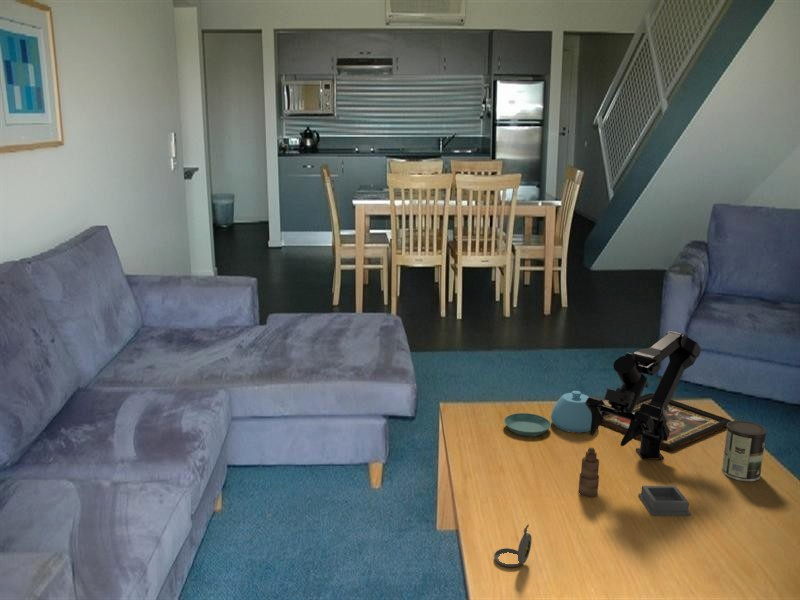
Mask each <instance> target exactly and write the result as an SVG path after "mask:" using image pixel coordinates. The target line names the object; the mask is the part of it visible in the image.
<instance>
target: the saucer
mask: <svg viewBox="0 0 800 600" xmlns="http://www.w3.org/2000/svg"><path fill="white" fill-rule="evenodd" d="M503 422H504V424H505V426H506V427H507V428H508V429H509V430H510V431H511V433H514V434H516V435H518V434H519V435H518V436H522V435H523V436H524V437H538V436H541V435H543V434H544V433H546V432H547V431H549V429H550V428H551V426H552V423H551V421H550V420H549V419H548V418H546V417H544V416H541V415H538V414H534V413H529V412H520V413H512V414H509V415H507V416H506V417H505V418H504V420H503ZM532 430H533V431H532ZM537 435H538V436H537Z"/></svg>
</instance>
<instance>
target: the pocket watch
mask: <svg viewBox="0 0 800 600" xmlns="http://www.w3.org/2000/svg"><path fill="white" fill-rule="evenodd" d="M529 526H530V524H527V525H526V526H525V528H524V529H523V535H522V536H521V539H520V541H519V545H518V548H517V549H514V548H506V547H505V548H499V549H498V550H496V551H495V552H494V556H493V557H494V561H496V563H497V564H499V565H500V566H503V567H507V568H514V567H519V566H520V565H522V564H525V563H526V562H527V560H528V559H529V555H530V551H531V549H532V535H531V533H528V528H529ZM507 552H509V553H513V554H517V555H518V561H519V563H518V564H505V563H502V562H500V561H499V559H498V557H499V556H500V554H502V553H503V554H504V553H507Z"/></svg>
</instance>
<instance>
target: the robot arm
mask: <svg viewBox="0 0 800 600" xmlns="http://www.w3.org/2000/svg"><path fill="white" fill-rule="evenodd" d="M701 351H702V350H701V346H700V345H699V343H698V342H697V341H695V340H694V339H692V338H690V337H688V336H687V335H686V334H685V333H684V332H678V331H674V330H669V331H667V332H666V333H665V336H663V337H662V338H660V339H659V340H658V341H657V342H655V343H654V344H653V345H652V346H650V347H649V348H640V349H638V350H636V351H634V352H633V353H630V352H626V354H625V355H623V356H620V357H617V358H616V359H615V360H614V361H613V370H614V371H615V373H616V374H617V376H618V378H619V380H620V381H621V383H622V384H621V386H620V387H617V388H616V390H615V389H612V388H608V387H607V388H606V391H605V396H604V397H603V398H604V399H601V398H597V397H594V396H592V395H591V396H588V397H589V398H587V400H586V402H585V404H586V406H587V407H588V409H589V410H590V412H591V414H592V421H591V430H590V432H589V434H590V436H591V437H593V436H594V435H595V434H596V432H597V430H598V429H599V428H600V426H601V422H602V420H603V419H604V418H603V416H602V415H605V413H609V414H612V415H615V416H618V417H621V418H624V419H628V420H631V421H630V426H629V428H628V430H627V432H626V433H625V434H623V435H624V436H623V437H622V439H621V441H620V447H624V446H625V445H627V444H628V443H630V442H631V441H632V440H633V439H636V438H635V437H637V436H638V435H641V441H640V445H639V446H640V447H636V448H635V451H636V453H637V454H638V455H639V457H640V458H641V459H642V460H664V459H665V456H663V454H662V453H661V449H660V447H661V442H662V441H667V439H668V437H669V433H670V430H669V428H668V426H667V425H666V422H667V417H666V408H667V406H668V404H669V402H670V400H672V397H673V395H674V393H675V392H676V389H677V387H678V384H679V383H680V380H681V378H682V376H683V374H684V372H685V370H686V369H688V368H689V367H692V366H693V365H694V363H695V362H696V361H697V358H699V357H700V354H701ZM667 357H668V360H669V361H668V365H667V366H666V368H665V370H664V372H663V375H662V377H661V379H660V381H659V382H658V385H657V388H656V389H655V392H654V393H653V394H654V395H653V397H652V400H651V401H650V402H649V403H648V404H645V403H643V404H642V405H641V407H640V409H639V411H636V412H635V414H633V413H632V412H633V410H634V408H635V406H636V405H639V403H640V402H639V398H640V396H642V394H643V392H644V390H645V388H648V387H649V381H648V377H646V376H645V375H648V376H655V375H656V374H657V373H658V372H659V370H660V369H661V368H662V367H661V365H662V362H663V361H664V360H666V359H667ZM644 374H645V375H644ZM603 400H605V401H607V403H608V404H609V405H611V406H609V405H606V404H605V403H604V401H603Z"/></svg>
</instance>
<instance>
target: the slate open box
mask: <svg viewBox="0 0 800 600" xmlns="http://www.w3.org/2000/svg"><path fill="white" fill-rule="evenodd" d="M637 496H638V498H639V499H640V501H641V502H642V504H643V506H644V507H645V508H646V510H647V511H648V513H650V516H653V517H654V516H691V514H692V513H691V511H690V509H689V505H690V502H689V501H688V499H687V498H686V497H685V495H683V493H682V492H681V491H680V490H679V488H678V487H677V485H641V492H640V493H638V495H637Z"/></svg>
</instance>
